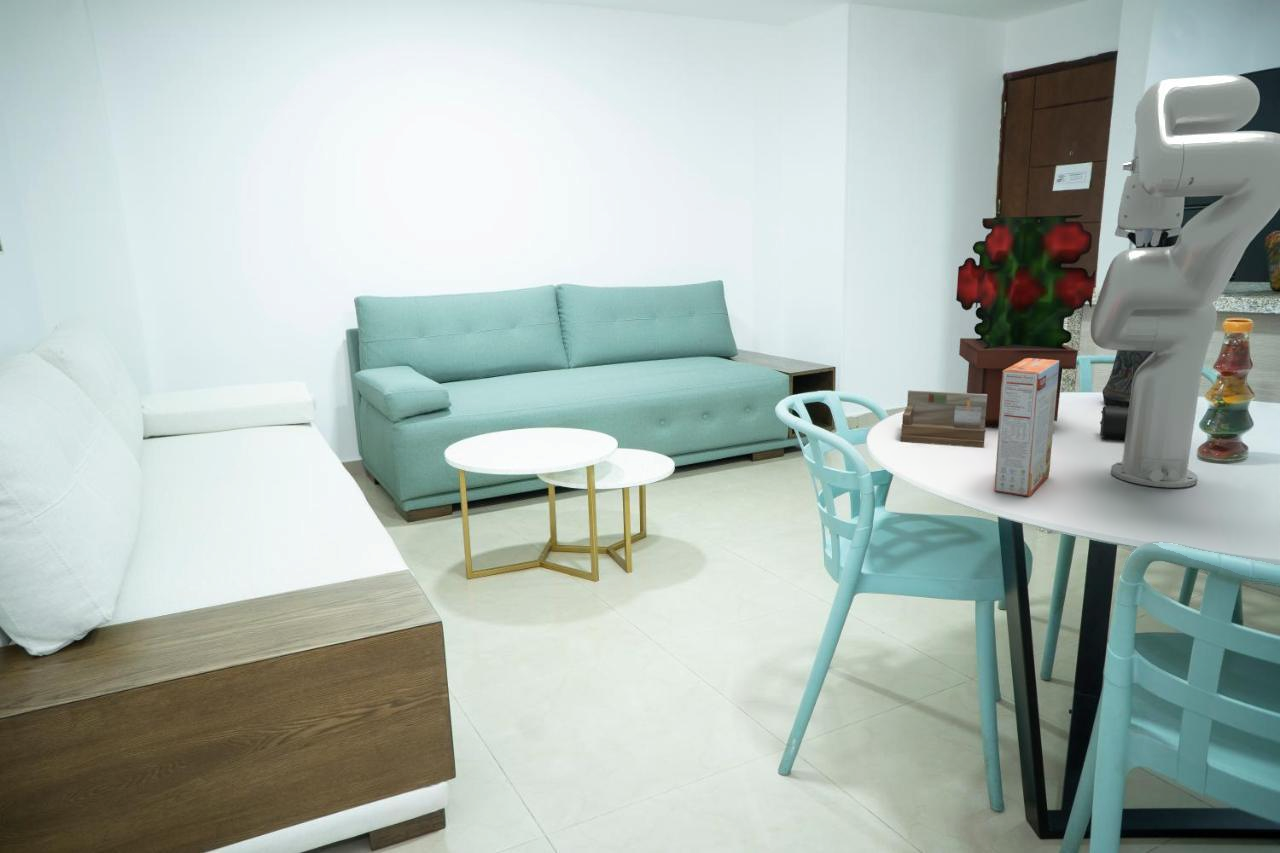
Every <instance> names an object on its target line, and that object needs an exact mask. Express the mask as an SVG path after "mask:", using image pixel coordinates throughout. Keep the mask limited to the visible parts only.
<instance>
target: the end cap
mask: <svg viewBox="0 0 1280 853" xmlns="http://www.w3.org/2000/svg"><path fill="white" fill-rule="evenodd" d="M1100 412H1101V420H1100V422H1099V424H1100V430H1099V435H1100V437H1101V436H1102V437H1101V438H1102V439H1107V438H1109V439H1110V440H1124V441H1125V436H1126V428H1127V420H1128V412H1129V408H1123V407H1119V406H1110V405H1109V406H1105V405H1104V406H1103V407H1102V410H1101V411H1100Z"/></svg>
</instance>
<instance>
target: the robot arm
mask: <svg viewBox="0 0 1280 853" xmlns="http://www.w3.org/2000/svg"><path fill="white" fill-rule="evenodd" d="M1260 100H1261V97H1260V91H1259V89H1258V87H1257V85H1256V84H1255V83H1254V82H1253V81H1252V80H1250V79H1249V78H1247V77H1245V76H1242V75H1238V74H1230V73H1229V74H1228V73H1226V74H1225V73H1224V74H1216V75H1202V76H1190V77H1189V76H1187V77H1175V78H1174V77H1173V78H1166V79H1162V80H1159V81H1157V82H1155V83H1154V84H1152V85H1151V86H1150V87H1149V88H1148V89H1147V90H1146V91H1145V92H1144V94H1143V95H1142V97H1141V100H1139V101H1138V103H1137V105H1136V109H1135V114H1134V119H1135V120H1134V121H1135V126H1136V127H1135V129H1136V130H1135V138H1134V146H1133V155H1132V156H1133V157H1132V160H1131V161H1128V162H1123V164H1122V165H1123V166H1122V171H1128V172H1130V175H1127V176H1126V178H1125V182H1124V184H1123V188H1122V189H1123V190H1122V193H1121V198H1120V203H1119V208H1118V214H1117V226H1116V228H1115V231H1114V236H1116V237H1120V238H1124V239H1128V240H1129V241H1130V242H1131V243H1132V244H1133V245H1134V247H1135V248H1134V247H1133V248H1127V249H1126V250H1123V251H1121V252H1119V253H1118V254H1117V255H1116V256H1115V257H1114V258H1113V259H1112V261H1111V262H1110V264H1109V266H1108V269H1107V271H1106V274H1105V277H1104V280H1103V282H1102V285H1101V289H1100V292H1099V293H1098V294H1099V295H1098V298H1097V300H1096V303H1095V307H1094V309H1093V312H1092V316H1091V321H1090V336H1091V339H1092V342H1093V343H1094V344H1095V345H1096V346H1097V347H1099V348H1101V349H1104V350H1109V351H1117V350H1129V351H1152V352H1154V353H1153V354H1152V355H1151V356H1150V357H1149V358H1147V359H1146V360H1145V361H1144V362H1143V363H1142V364H1141V365H1140V366H1139V368H1138V369H1137V370H1136V372H1135V374H1134V377H1133V381H1132V388H1131V396H1130V404H1129V412H1128V420H1127V428H1126V436H1125V440H1124V446H1123V454H1122V460H1121V461H1119V462H1115V463H1114V464H1112V465H1111V467H1110V473H1111V474H1112V476H1114V477H1115V478H1118V479H1120V480H1122V481H1125V482H1129V483H1133V484H1136V485H1141V486H1149V487H1155V488H1166V489H1167V488H1168V489H1170V488H1173V489H1174V488H1175V489H1176V488H1177V489H1179V488H1181V489H1182V488H1187V487H1191V486H1194V485H1196V484H1197V482H1198V476H1197V473H1195V472H1193V471H1191V470H1190V469H1189V468H1188V467H1189V460H1190V454H1191V448H1192V443H1193V442H1192V440H1193V434H1194V428H1195V427H1194V426H1195V420H1196V414H1197V406H1198V400H1199V394H1200V388H1201V387H1200V386H1201V380H1202V374H1203V369H1204V364H1205V359H1206V356H1207V353H1208V349H1209V346H1210V343H1211V341H1212V337H1213V335H1214V332H1215V329H1216V325H1217V321H1218V320H1217V318H1218V313H1217V312H1218V311H1217V308H1216V306H1215V304H1214V302H1216V301H1217V300H1218V298H1220V297H1221V295H1222V293H1223V292H1224V290H1225V289H1226V287H1227V285H1228V283H1229V282H1230V279H1231V278H1232V276H1233V274H1234V272H1235V271H1236V268H1237V266H1238V264H1239V262H1240V261H1241V259H1242V258H1243V255H1244V253H1245V251H1246V249H1247V248H1248V247H1249V245H1250V243H1251V242H1252V241H1253V240H1254V239H1255V238H1256V236H1257V235H1259V233H1260V232H1261V231H1262V230H1263V229H1264V228H1265V227H1266V226H1267V224H1268V223H1269V222H1270V221H1271V220H1272V219H1273V218H1274V216H1275V215H1276V214H1277V213H1278V211H1279V210H1280V133H1278V132H1272V131H1265V130H1264V131H1261V130H1240V129H1241V128H1243V127H1244V126H1246V125H1247V124H1248V123H1249V122H1250V121H1252V118H1254V116H1255V115H1256V114H1257V112H1258V109H1259V106H1260V102H1261V101H1260ZM1239 130H1240V131H1239ZM1212 196H1213V197H1216V196H1217V197H1218V196H1219V197H1220V196H1222V197H1221V198H1220V199H1218V200H1217V201H1215V202H1213V203H1211V204H1210V205H1208V206H1206V207H1204V208H1203V209H1202V210H1200V211H1198V213H1196V214H1195V215H1194V216H1193V217H1191V219H1189V220H1188V221H1187V222H1186V223H1185V224H1184V226H1183V227H1182V223H1183V219H1184V210H1185V198H1187V197H1188V198H1189V197H1191V198H1192V197H1193V198H1194V197H1212ZM1144 230H1145V231H1146V230H1148V231H1149V230H1152V231H1151V235H1150V239H1149V241H1148V242H1147V244H1146V243H1145V242H1144ZM1163 230H1165V231H1163ZM1131 231H1133V232H1131ZM1175 236H1177V239H1176V241H1175V244H1174V245H1171V246H1163V247H1162V246H1161V247H1157V246H1158V245H1160V244H1161V243H1162V242H1163V241H1164V240H1166V239H1167V238H1171V237H1175Z"/></svg>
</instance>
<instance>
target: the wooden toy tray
mask: <svg viewBox="0 0 1280 853" xmlns="http://www.w3.org/2000/svg"><path fill="white" fill-rule="evenodd" d="M967 400H970V406H972V407H981V419H980V429H965V428H954V415H955V407H956V406H967ZM906 402H907V403H906V407H905V409H904V412H903V414H902V419H901V420H902V424H901V433H900V442H902V443H903V442H905V443H918V444H919V443H920V444H930V443H934V444H933V445H943V444H951V445H950V446H956V445H962V446H961V447H969V446H973V447H972V448H982V447H984V448H985V438H986V437H985V435H986V429H985V426H986V425H985V417H986V405H987V394H971V393H967V392H966V393H965V392H949V391H948V392H947V391H946V392H945V391H932V390H931V391H929V390H927V391H926V390H913V389H911V390H910V389H909V390H908V391H907V401H906Z"/></svg>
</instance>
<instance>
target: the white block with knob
mask: <svg viewBox="0 0 1280 853" xmlns="http://www.w3.org/2000/svg"><path fill="white" fill-rule="evenodd" d="M980 419H981V407H972V406H970V400H967V406H956V407H955V415H954V428H965V429H980Z"/></svg>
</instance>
